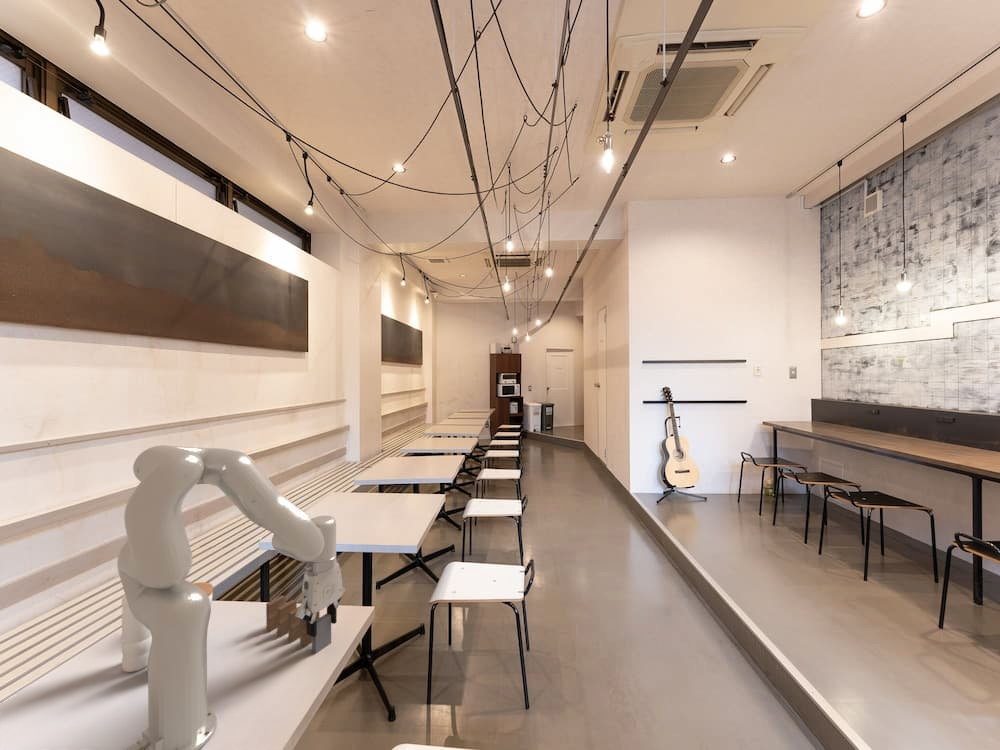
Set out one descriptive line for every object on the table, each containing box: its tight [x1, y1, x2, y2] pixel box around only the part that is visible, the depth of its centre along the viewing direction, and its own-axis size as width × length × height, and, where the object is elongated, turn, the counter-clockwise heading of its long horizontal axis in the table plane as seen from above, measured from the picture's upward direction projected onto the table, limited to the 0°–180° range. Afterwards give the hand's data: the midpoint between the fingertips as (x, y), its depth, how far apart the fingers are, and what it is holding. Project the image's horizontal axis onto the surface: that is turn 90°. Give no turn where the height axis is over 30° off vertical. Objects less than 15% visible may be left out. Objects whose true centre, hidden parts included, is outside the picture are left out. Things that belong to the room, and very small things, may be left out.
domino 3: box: [287, 606, 307, 643], centre depth 116 cm, size 2×5×8 cm, turn 152°
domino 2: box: [276, 599, 298, 638], centre depth 119 cm, size 2×5×8 cm, turn 152°
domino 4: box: [299, 611, 320, 649], centre depth 114 cm, size 2×5×8 cm, turn 152°
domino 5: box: [311, 612, 332, 655], centre depth 112 cm, size 2×5×8 cm, turn 152°
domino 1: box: [265, 594, 287, 633], centre depth 121 cm, size 2×5×8 cm, turn 152°
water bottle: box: [121, 593, 152, 673], centre depth 106 cm, size 7×7×25 cm
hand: (322, 627), depth 112 cm, fingers open, 5 cm apart
